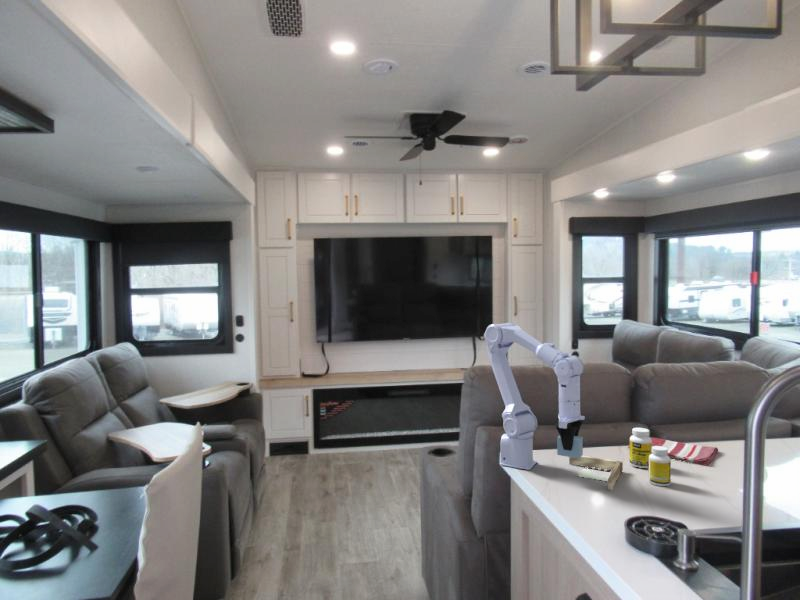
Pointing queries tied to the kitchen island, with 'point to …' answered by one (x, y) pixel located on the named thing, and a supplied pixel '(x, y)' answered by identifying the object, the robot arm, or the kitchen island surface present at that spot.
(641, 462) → the pill bottle
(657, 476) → the supplement bottle
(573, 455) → the slate block
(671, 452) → the dish towel
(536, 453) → the kitchen island surface
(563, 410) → the robot arm
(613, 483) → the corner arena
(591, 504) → the kitchen island surface
